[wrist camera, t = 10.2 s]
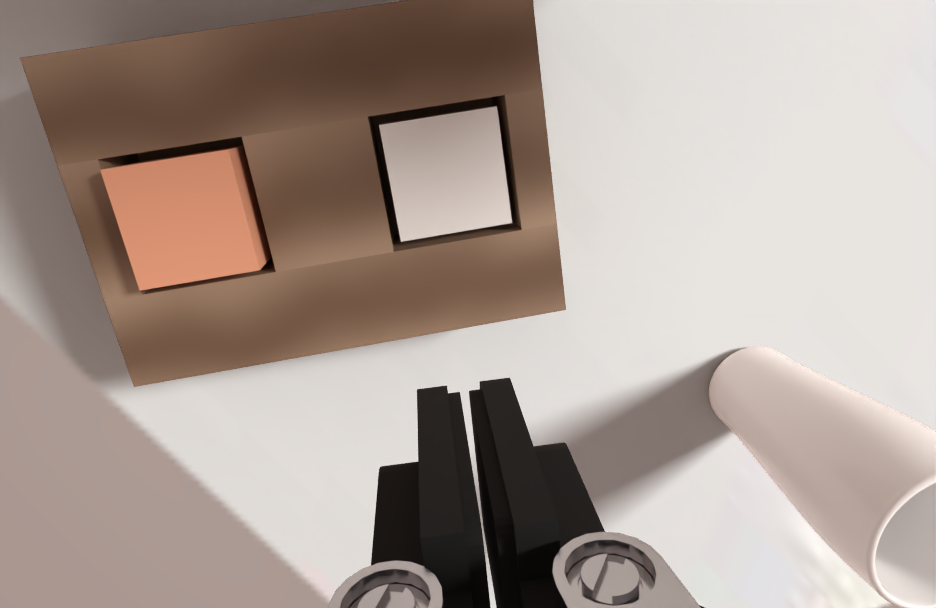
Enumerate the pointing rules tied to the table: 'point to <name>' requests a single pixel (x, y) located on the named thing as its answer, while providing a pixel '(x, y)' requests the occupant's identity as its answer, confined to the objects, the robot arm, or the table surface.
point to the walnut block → (310, 177)
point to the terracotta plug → (188, 217)
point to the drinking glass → (840, 467)
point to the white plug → (446, 172)
